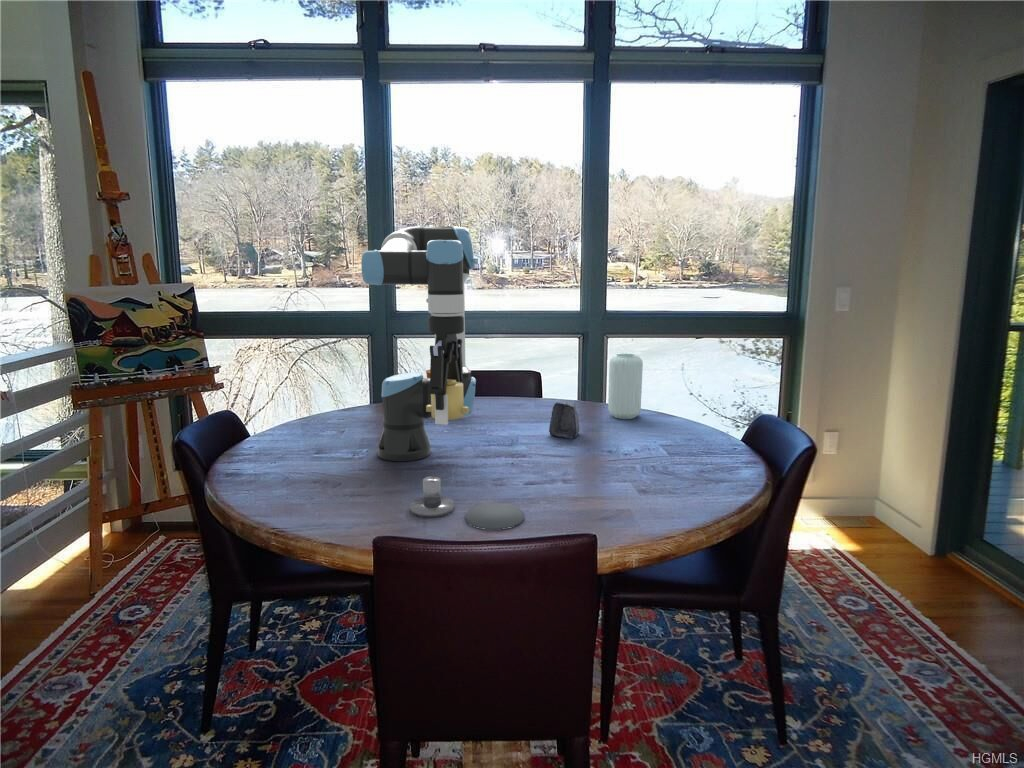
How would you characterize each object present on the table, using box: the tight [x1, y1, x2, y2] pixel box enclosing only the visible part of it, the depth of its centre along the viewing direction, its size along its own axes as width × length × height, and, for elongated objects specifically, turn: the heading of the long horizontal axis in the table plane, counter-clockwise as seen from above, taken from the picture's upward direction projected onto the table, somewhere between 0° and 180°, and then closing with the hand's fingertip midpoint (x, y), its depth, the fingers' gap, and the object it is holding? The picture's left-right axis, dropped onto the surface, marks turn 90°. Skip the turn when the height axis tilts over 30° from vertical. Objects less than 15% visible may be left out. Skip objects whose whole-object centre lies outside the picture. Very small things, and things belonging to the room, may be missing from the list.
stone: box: [548, 401, 580, 439], centre depth 209 cm, size 12×10×10 cm
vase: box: [607, 352, 644, 420], centre depth 231 cm, size 12×12×22 cm
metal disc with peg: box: [409, 475, 455, 519], centre depth 148 cm, size 10×10×7 cm
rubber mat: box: [464, 502, 525, 530], centre depth 144 cm, size 13×13×1 cm
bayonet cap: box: [426, 379, 469, 421], centre depth 142 cm, size 7×9×8 cm
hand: (447, 419), depth 142 cm, fingers closed on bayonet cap, 7 cm apart
